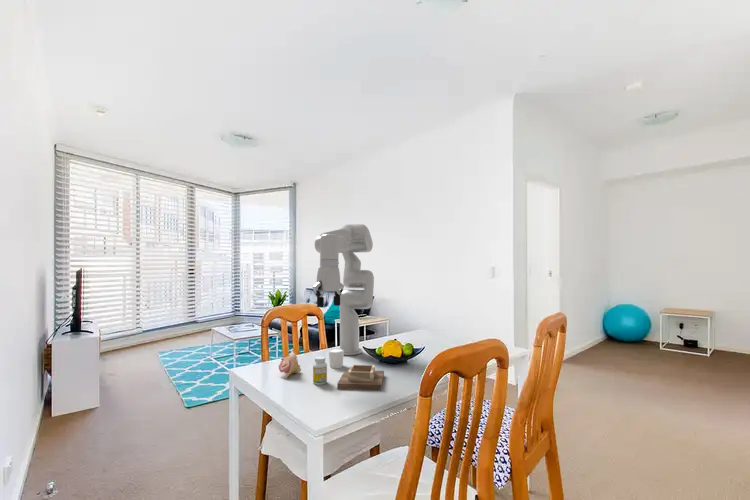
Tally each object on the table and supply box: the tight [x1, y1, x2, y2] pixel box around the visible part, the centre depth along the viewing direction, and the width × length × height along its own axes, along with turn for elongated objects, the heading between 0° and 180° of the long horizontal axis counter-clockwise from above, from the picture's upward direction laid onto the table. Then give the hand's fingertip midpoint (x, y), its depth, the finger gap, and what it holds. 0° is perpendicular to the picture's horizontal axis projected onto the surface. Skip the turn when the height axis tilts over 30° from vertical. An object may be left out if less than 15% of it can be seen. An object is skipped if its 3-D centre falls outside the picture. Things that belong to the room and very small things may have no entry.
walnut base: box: [336, 364, 385, 391], centre depth 141 cm, size 16×16×5 cm
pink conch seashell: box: [278, 352, 302, 379], centre depth 150 cm, size 9×10×10 cm
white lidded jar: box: [328, 348, 345, 369], centre depth 161 cm, size 7×7×7 cm
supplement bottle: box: [312, 355, 328, 386], centre depth 141 cm, size 5×5×10 cm
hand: (328, 306), depth 149 cm, fingers open, 9 cm apart
